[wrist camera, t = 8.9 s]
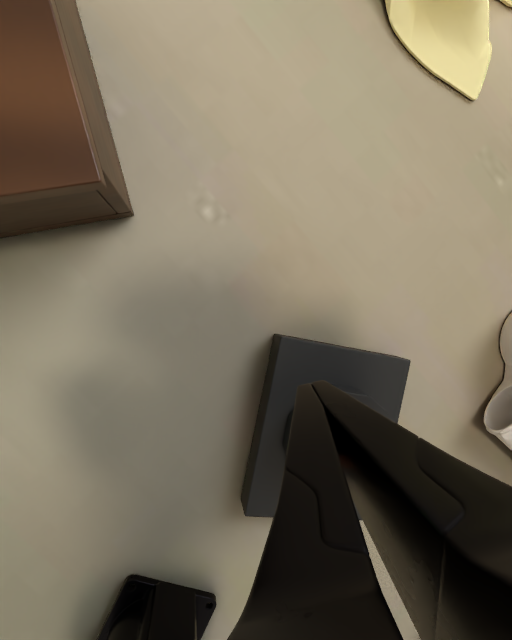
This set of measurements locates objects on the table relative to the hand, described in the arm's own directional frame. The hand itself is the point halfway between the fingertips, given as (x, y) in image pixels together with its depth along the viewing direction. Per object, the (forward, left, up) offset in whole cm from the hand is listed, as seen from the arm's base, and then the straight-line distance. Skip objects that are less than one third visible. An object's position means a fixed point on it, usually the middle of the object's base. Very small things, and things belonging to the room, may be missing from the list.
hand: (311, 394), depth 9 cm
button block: (-3, -8, -11) cm, 14 cm away
